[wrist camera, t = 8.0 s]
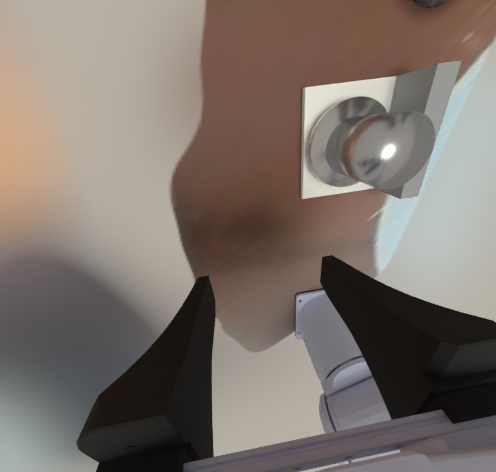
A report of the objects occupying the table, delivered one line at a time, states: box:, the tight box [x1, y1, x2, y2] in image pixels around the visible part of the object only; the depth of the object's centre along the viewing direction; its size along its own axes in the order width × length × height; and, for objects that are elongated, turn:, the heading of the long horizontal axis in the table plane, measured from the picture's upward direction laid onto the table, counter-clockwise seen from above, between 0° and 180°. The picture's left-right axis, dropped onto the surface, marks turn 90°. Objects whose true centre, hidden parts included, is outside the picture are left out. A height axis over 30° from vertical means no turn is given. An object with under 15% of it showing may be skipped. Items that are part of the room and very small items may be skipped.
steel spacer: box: [326, 111, 435, 190], centre depth 14 cm, size 4×4×5 cm
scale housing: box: [301, 61, 461, 199], centre depth 16 cm, size 9×9×4 cm
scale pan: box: [307, 96, 388, 187], centre depth 17 cm, size 7×7×1 cm
